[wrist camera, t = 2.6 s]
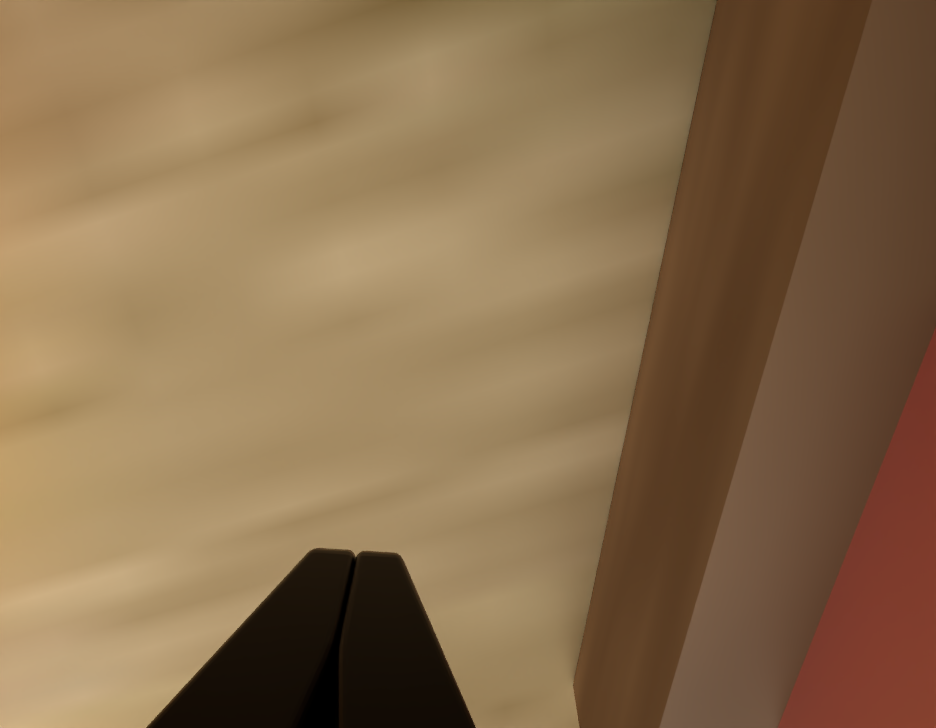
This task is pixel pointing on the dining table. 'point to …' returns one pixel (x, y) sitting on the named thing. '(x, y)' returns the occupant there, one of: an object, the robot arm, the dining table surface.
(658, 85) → the dining table surface
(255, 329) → the dining table surface
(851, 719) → the terracotta red slab
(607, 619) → the deck
